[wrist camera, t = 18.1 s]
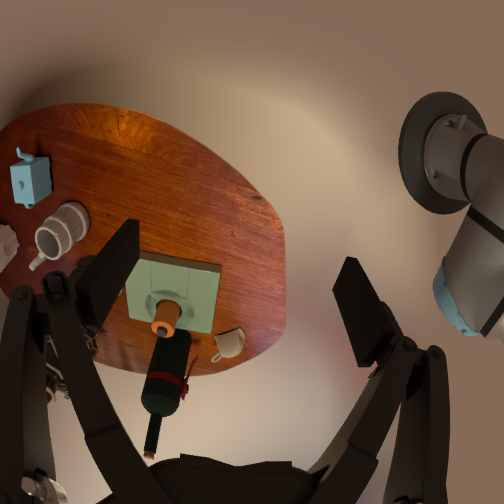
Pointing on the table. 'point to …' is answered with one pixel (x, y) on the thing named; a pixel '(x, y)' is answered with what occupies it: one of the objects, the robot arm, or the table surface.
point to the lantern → (53, 367)
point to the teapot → (31, 179)
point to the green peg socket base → (174, 289)
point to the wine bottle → (165, 383)
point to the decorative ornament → (229, 344)
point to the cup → (7, 245)
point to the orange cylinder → (166, 318)
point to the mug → (60, 232)
